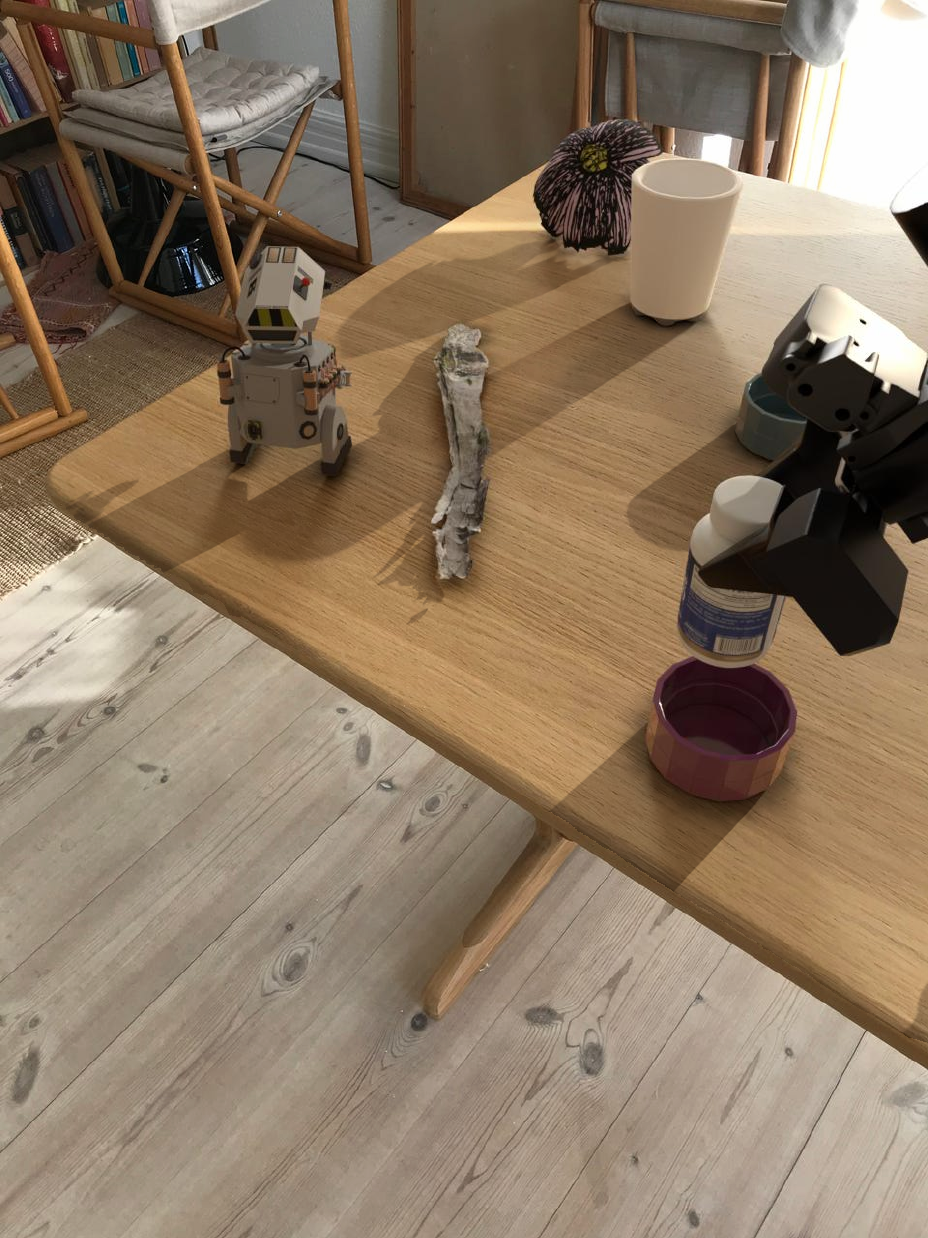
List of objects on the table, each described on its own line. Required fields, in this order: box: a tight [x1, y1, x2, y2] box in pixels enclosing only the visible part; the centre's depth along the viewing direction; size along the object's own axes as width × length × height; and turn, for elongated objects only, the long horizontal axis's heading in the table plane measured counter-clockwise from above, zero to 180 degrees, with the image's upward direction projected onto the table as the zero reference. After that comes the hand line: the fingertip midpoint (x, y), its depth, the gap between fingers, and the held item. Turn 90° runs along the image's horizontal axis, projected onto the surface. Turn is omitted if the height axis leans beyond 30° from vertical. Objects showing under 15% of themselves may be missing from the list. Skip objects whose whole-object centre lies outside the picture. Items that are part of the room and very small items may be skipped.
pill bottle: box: [676, 475, 787, 668], centre depth 53 cm, size 5×5×10 cm
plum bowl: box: [644, 655, 798, 802], centre depth 59 cm, size 8×8×4 cm
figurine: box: [216, 245, 353, 477], centre depth 78 cm, size 9×12×15 cm
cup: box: [629, 157, 744, 327], centre depth 95 cm, size 10×10×13 cm
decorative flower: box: [532, 118, 665, 256], centre depth 109 cm, size 14×12×15 cm
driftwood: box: [430, 322, 491, 580], centre depth 83 cm, size 37×2×5 cm
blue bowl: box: [735, 372, 807, 461], centre depth 82 cm, size 8×8×4 cm
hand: (716, 544), depth 52 cm, fingers closed on pill bottle, 5 cm apart
